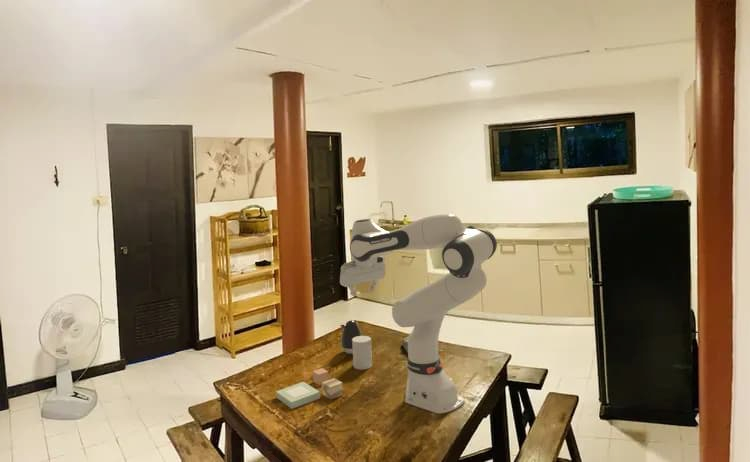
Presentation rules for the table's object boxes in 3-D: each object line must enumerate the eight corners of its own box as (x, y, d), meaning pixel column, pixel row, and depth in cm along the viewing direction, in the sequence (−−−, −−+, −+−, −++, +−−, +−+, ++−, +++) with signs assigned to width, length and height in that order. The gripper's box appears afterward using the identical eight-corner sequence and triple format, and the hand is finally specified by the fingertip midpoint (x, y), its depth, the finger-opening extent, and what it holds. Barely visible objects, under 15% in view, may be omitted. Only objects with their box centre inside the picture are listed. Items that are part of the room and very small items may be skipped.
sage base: (320, 398, 181) (319, 391, 181) (291, 408, 174) (291, 402, 174) (303, 387, 191) (303, 381, 190) (276, 397, 183) (275, 391, 183)
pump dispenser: (337, 351, 228) (335, 320, 226) (357, 346, 233) (355, 316, 231) (346, 358, 219) (345, 325, 217) (367, 353, 224) (365, 321, 222)
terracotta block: (328, 382, 195) (328, 371, 195) (319, 385, 193) (318, 374, 192) (322, 378, 199) (322, 368, 198) (313, 381, 196) (312, 371, 195)
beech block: (342, 395, 183) (342, 382, 183) (330, 399, 180) (330, 387, 179) (334, 390, 188) (334, 378, 187) (322, 395, 184) (322, 382, 184)
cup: (371, 369, 206) (370, 342, 204) (352, 369, 206) (351, 342, 205) (372, 361, 214) (371, 335, 212) (354, 362, 214) (352, 336, 213)
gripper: (345, 265, 182) (345, 300, 185) (387, 257, 194) (387, 289, 197) (336, 261, 186) (336, 295, 190) (378, 253, 199) (377, 285, 202)
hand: (362, 292), depth 193 cm, fingers open, 8 cm apart
